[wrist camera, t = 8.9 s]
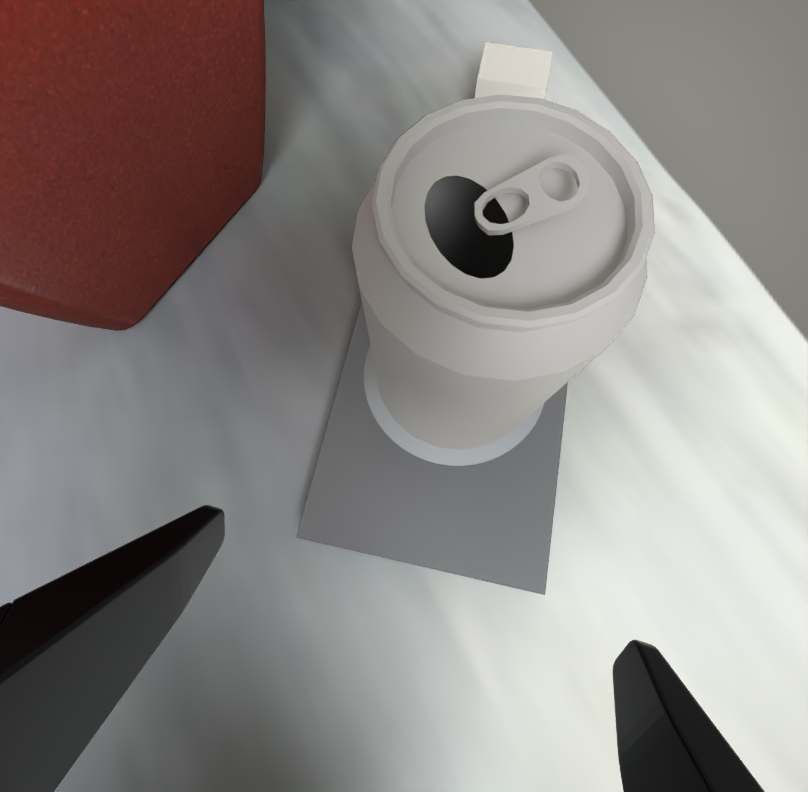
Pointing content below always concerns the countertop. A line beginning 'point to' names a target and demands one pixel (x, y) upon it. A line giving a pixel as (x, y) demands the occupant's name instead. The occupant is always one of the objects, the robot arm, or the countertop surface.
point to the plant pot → (122, 147)
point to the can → (497, 262)
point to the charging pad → (440, 452)
